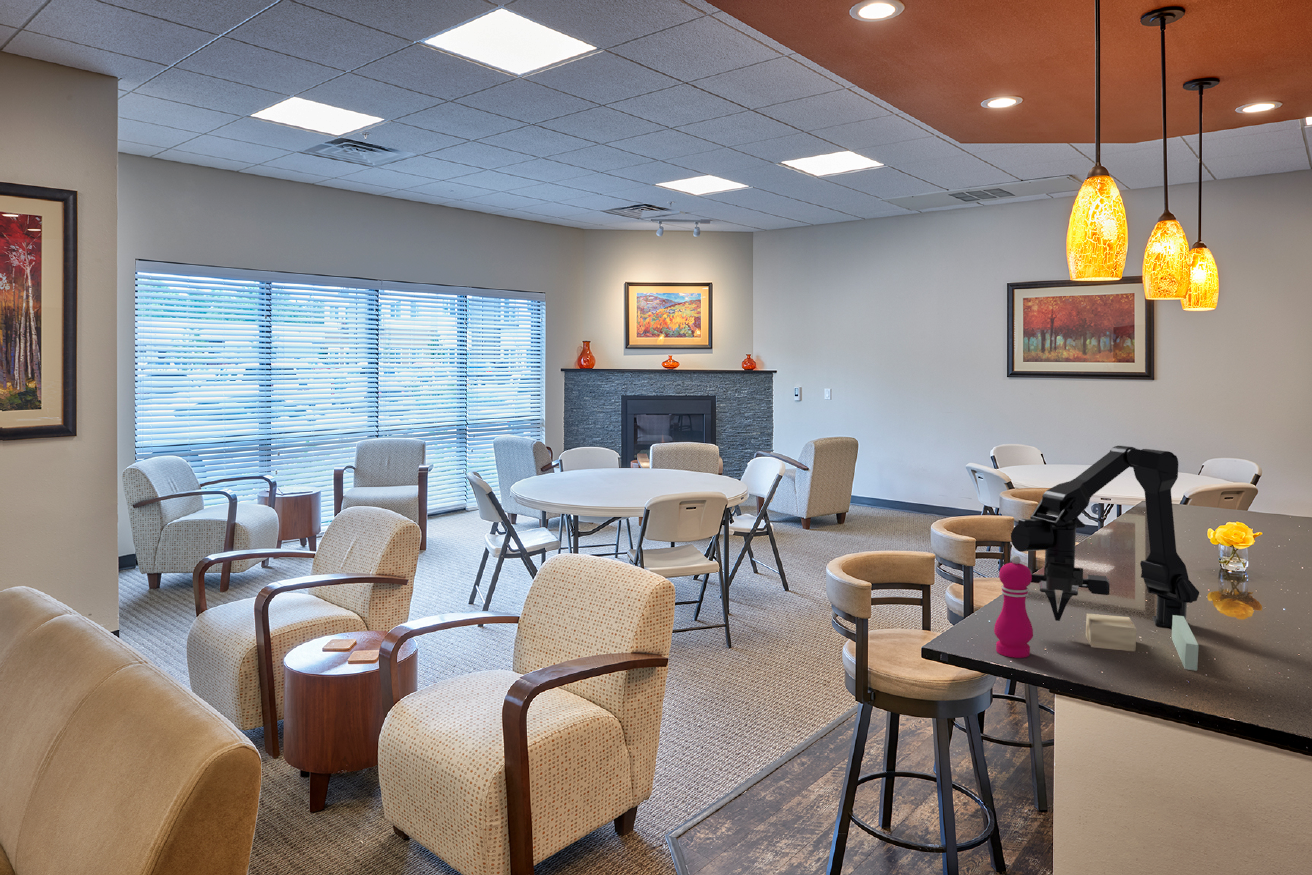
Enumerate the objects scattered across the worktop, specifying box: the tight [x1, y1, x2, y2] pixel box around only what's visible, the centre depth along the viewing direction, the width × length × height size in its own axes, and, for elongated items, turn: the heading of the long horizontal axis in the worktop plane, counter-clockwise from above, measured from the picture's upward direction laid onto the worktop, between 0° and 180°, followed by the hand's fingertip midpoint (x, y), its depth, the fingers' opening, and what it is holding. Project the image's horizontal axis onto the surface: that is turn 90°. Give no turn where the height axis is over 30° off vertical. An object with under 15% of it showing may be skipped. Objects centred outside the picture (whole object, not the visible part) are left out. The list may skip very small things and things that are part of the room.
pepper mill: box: [993, 555, 1034, 659], centre depth 166 cm, size 7×7×20 cm
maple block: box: [1085, 613, 1137, 652], centre depth 172 cm, size 8×8×5 cm
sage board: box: [1171, 615, 1199, 672], centre depth 166 cm, size 20×2×5 cm, turn 154°
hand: (1057, 620), depth 176 cm, fingers closed
